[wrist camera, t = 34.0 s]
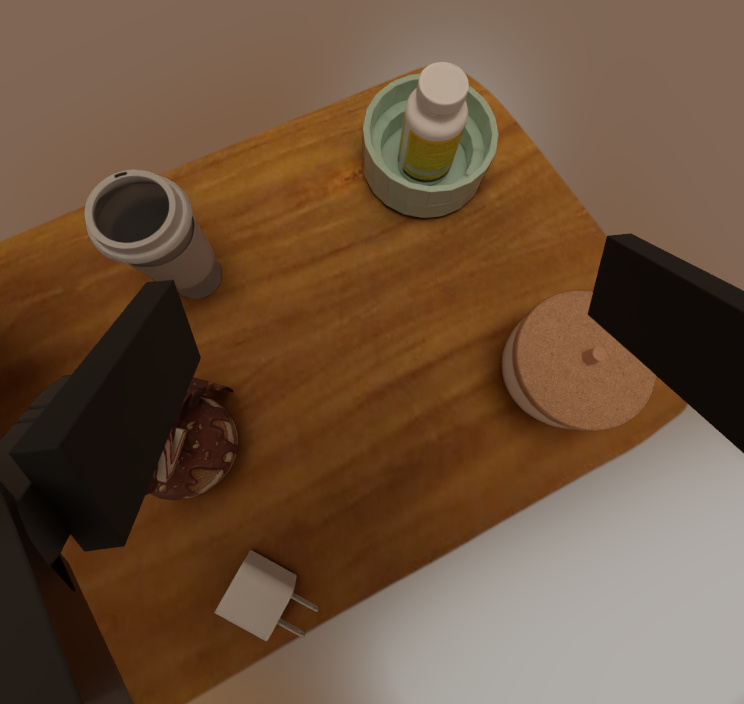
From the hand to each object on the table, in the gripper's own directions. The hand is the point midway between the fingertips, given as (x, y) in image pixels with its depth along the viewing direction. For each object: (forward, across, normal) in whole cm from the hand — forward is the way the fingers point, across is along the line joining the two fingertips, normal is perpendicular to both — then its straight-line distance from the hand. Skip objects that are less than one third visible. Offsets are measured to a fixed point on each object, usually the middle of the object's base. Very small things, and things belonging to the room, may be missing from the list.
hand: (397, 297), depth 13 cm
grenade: (+17, -15, -20) cm, 30 cm away
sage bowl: (+34, +8, -2) cm, 35 cm away
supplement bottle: (+34, +8, -2) cm, 35 cm away
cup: (+27, -15, -9) cm, 32 cm away
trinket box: (+18, +16, -18) cm, 30 cm away
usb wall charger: (+4, -10, -26) cm, 28 cm away
